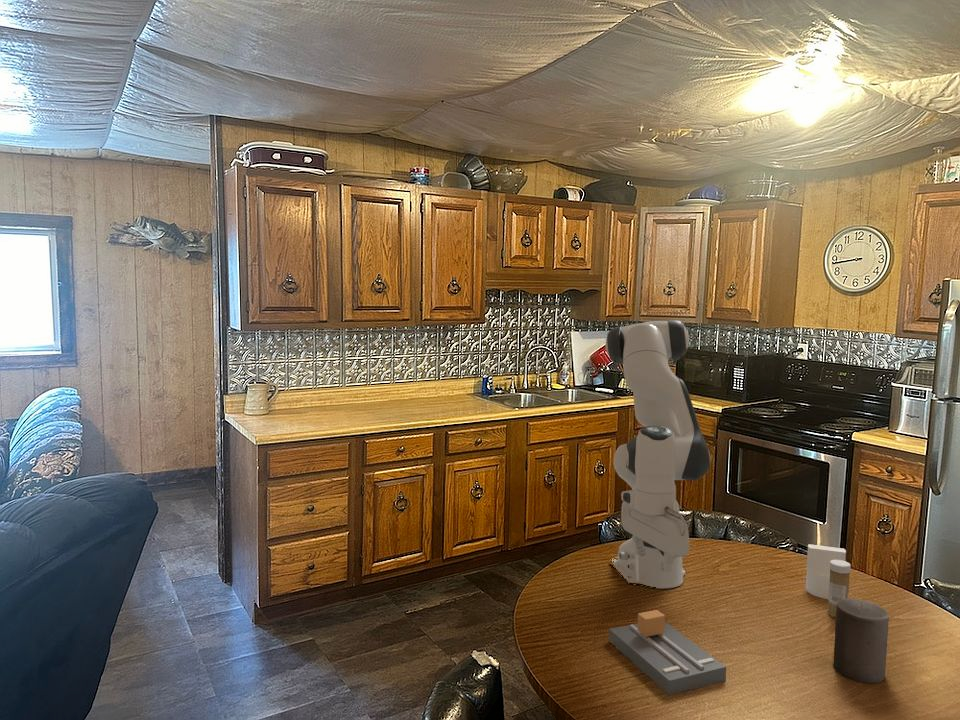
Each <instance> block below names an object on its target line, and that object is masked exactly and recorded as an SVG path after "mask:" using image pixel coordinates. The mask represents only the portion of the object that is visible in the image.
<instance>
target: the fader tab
mask: <svg viewBox="0 0 960 720" xmlns="http://www.w3.org/2000/svg"><path fill="white" fill-rule="evenodd" d="M665 622H666V615H665V614H664V613H662V612H660V611H659V610H658V609H654V610H647V611H643V612H638V613H637V623H638V631H639V632H640V633H641V634H643V635H644V636H645V637H647V636H650V637H652V636H655V635H657V634H661V633H664V632H665Z"/></svg>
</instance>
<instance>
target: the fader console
mask: <svg viewBox="0 0 960 720" xmlns="http://www.w3.org/2000/svg"><path fill="white" fill-rule="evenodd" d="M609 640H610V641H611V642H612V643H613V644H614V645H615V646H616V647H617V648H618V649H619V650H620V651H621V652H622V653H623V654H624V655H623V654H622V653H621V652H620V651H619V650H618V649H617V648H616V647H615V648H616V649H617V650H618V651H619V652H620V653H621V654H622V655H623V656H625V655H626V656H627V657H628V658H629V659H630V660H631V661H632V662H633V663H632V662H631V661H630V660H629V659H628V658H627V657H626V656H625V657H626V658H627V659H628V660H629V661H630V662H631V663H632V664H634V666H635V667H637V668H638V669H639V670H640V671H641V670H642V673H643V674H644V675H646V676H647V677H648V676H649V677H648V678H649V679H650V678H651V679H650V680H652V681H653V682H654V683H655V685H657V686H658V687H659V688H660V689H661V690H662V691H664V692H665V693H666V694H667V695H669V696H670V695H675V694H678V693H683V692H686V691H689V690H690V691H691V690H694V689H695V690H696V689H698V688H702V687H706V686H710V685H711V686H712V685H715V684H719V683H723V682H726V681H727V680H726V678H727V666H726V665H724V663H722V662H721V661H719V660H718V659H716V657H714V656H713V655H711V654H709V653H708V652H707V651H706V650H704V649H703V648H702V647H700V646H699V645H697V643H695V642H694V641H692V640H691V639H690V638H687V637H686V636H685V635H684V634H682V633H681V632H679V631H678V630H677V629H676V628H674V627H673V626H671V625H670V624H669V623H667V622H666V621H665V632H664V633H661V634H657V635H655V636H652V637H650V636H647V637H645V636H644V635H643V634H641V633H640V632H639V631H638V622H636V623H633V624H628V625H627V624H626V625H623V626H618V627H613V628H609V630H608V641H609Z"/></svg>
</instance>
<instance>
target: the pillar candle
mask: <svg viewBox="0 0 960 720" xmlns="http://www.w3.org/2000/svg"><path fill="white" fill-rule="evenodd" d="M889 619H890V612H888V610H887V609H885V608H884V607H882V605H881V606H880V605H878V604H876V603H875V602H873V601H868V600H864V599H860V598H847V599H842V600H840V601H838V602H837V609H836V618H835V625H834V626H835V627H834V646H833V663H832V666H833V668H834V669H835V671H836V672H838V674H840V675H842V676H844V677H846V678H848V679H850V680H853V681H856V682H859V683H866V684H867V683H868V684H876V683H877V684H878V683H881V682H882V681H884V680H885V678H886V677H885V676H886V667H887V666H886V665H887V654H888V653H887V652H888V651H887V650H888V638H889V636H888V634H889V621H890V620H889Z"/></svg>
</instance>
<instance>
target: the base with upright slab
mask: <svg viewBox="0 0 960 720" xmlns="http://www.w3.org/2000/svg"><path fill="white" fill-rule="evenodd" d="M846 554H847V550H846V549H845V548H841V547H834V546H833V547H832V546H827V545H819V544H818V545H816V544H809V543H808V545H807V556H806V559H807V560H806V574H805V575H806V578H805V590H806V592H808V593H809V594H810V595H811V596H815V597H816V598H817V597H818V598H821V599H826V600H828V599H829V580H830V561H831V560H843V561H846V558H847V557H846Z"/></svg>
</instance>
